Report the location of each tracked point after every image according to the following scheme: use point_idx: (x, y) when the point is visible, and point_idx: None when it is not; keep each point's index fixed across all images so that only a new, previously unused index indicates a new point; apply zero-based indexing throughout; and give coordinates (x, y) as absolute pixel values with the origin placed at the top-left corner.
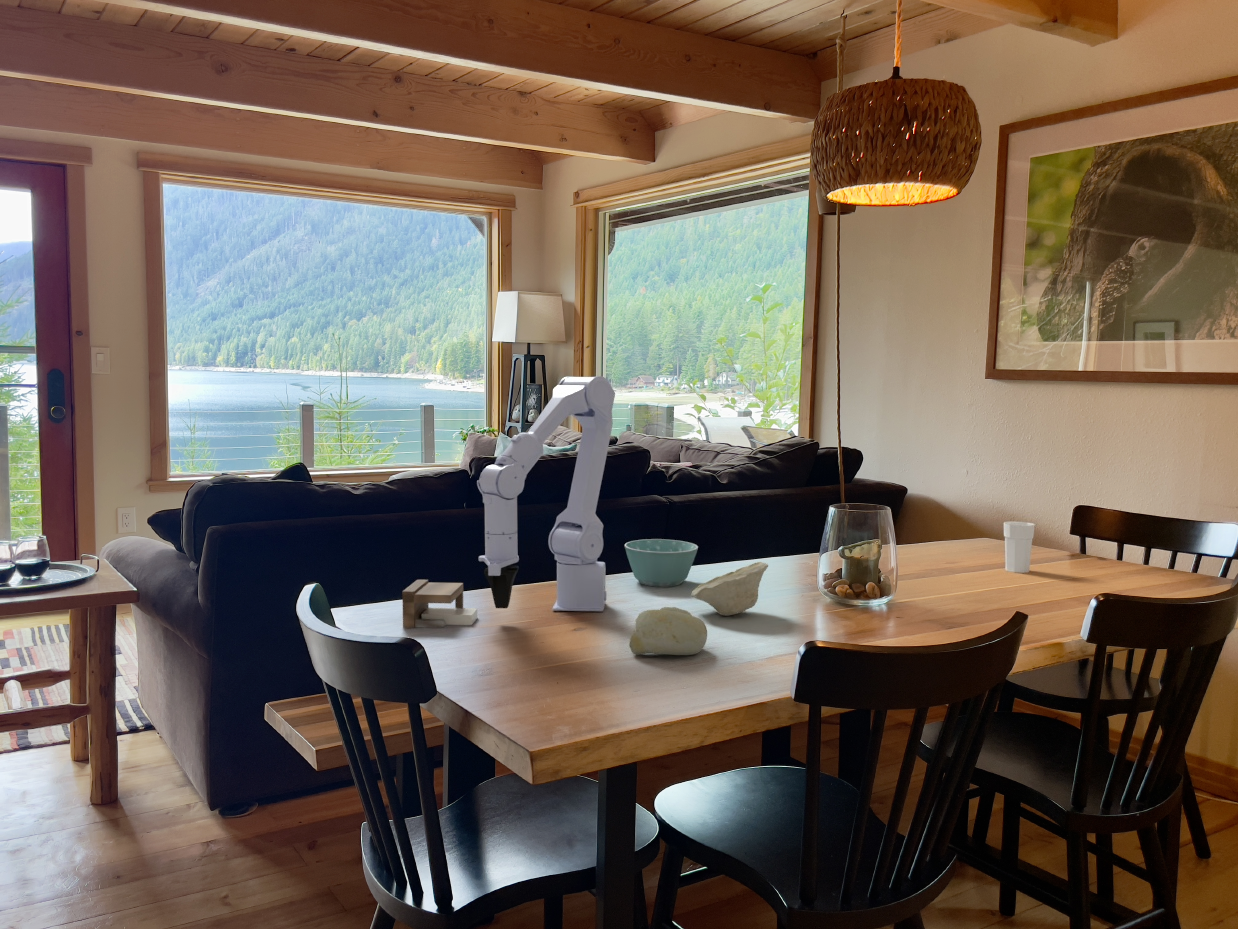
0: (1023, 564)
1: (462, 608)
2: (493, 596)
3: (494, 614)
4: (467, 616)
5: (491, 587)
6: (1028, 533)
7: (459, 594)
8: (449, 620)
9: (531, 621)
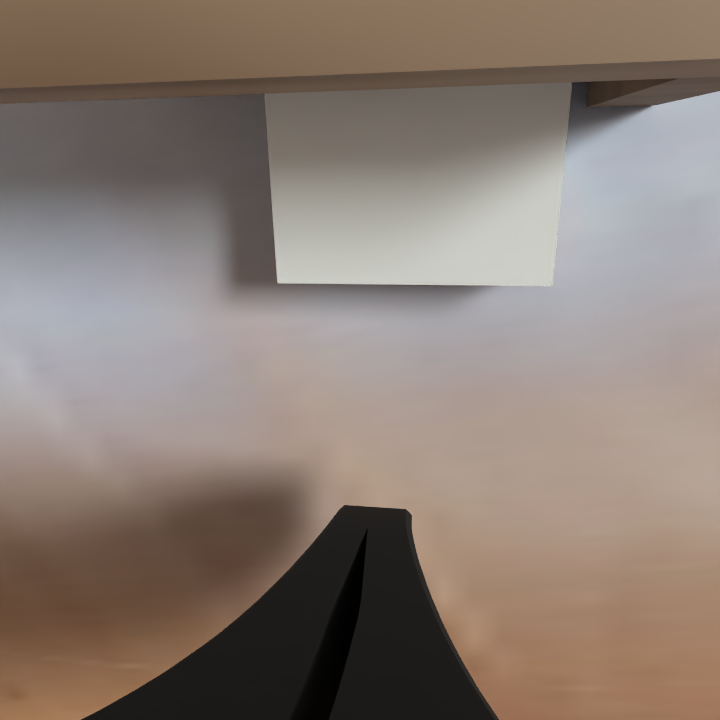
0: None
1: (557, 120)
2: (296, 565)
3: (671, 388)
4: (277, 241)
5: (219, 638)
6: None
7: (507, 83)
8: None
9: None
